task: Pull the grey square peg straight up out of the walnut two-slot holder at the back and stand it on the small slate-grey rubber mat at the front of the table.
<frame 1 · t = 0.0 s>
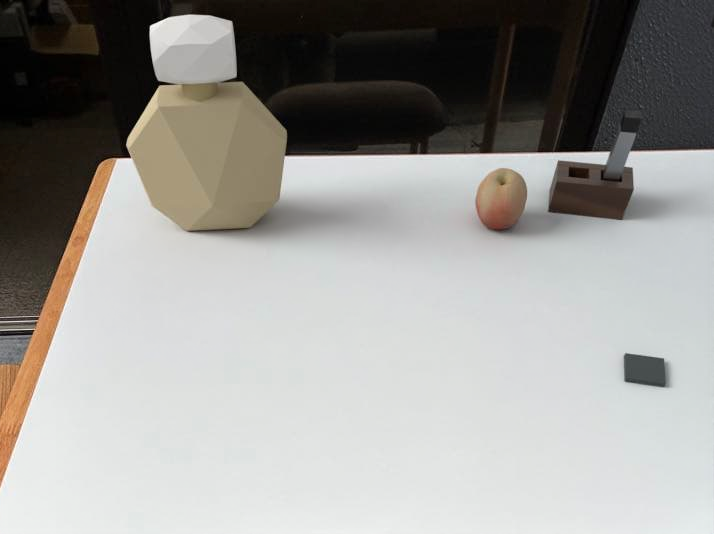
holder: (584, 204, 109), on the table
perfume bottle: (218, 220, 109), on the table
mat: (643, 371, 86), on the table
fruit: (495, 224, 106), on the table
grey square peg: (600, 206, 108), resting in holder
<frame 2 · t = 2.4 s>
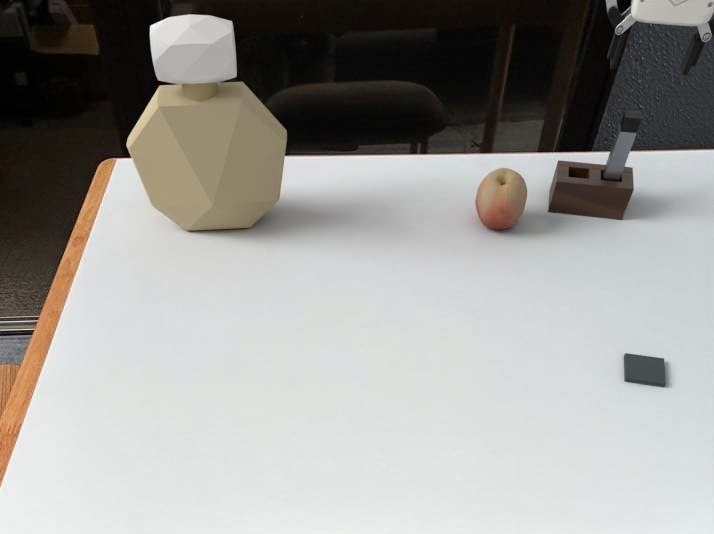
hand: (647, 68, 92), 20 cm above the table, tool pointing down, fingers open, 9 cm apart
nothing on the table moved.
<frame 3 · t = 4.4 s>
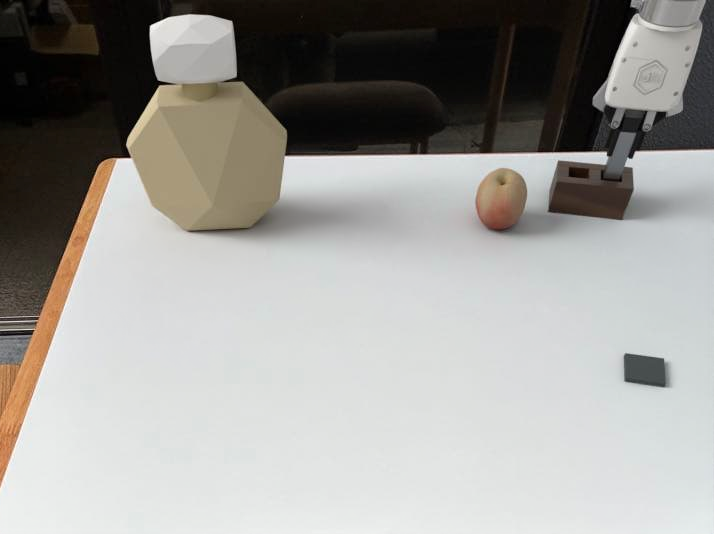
hand: (619, 152, 101), 9 cm above the table, tool pointing down, fingers closed on grey square peg, 2 cm apart
grey square peg: (600, 206, 108), resting in holder, touching gripper
everything else where it was.
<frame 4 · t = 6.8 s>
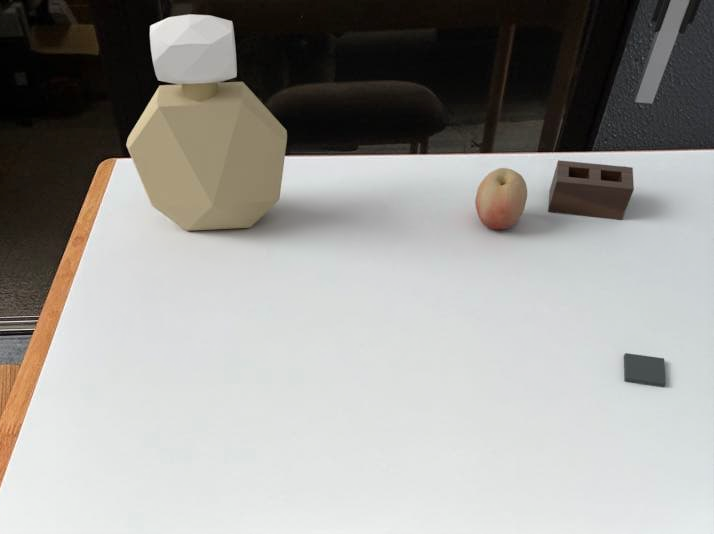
hand: (668, 27, 87), 25 cm above the table, tool pointing down, fingers closed on grey square peg, 2 cm apart
grey square peg: (643, 99, 94), point 16 cm above the table, touching gripper
everything else where it was.
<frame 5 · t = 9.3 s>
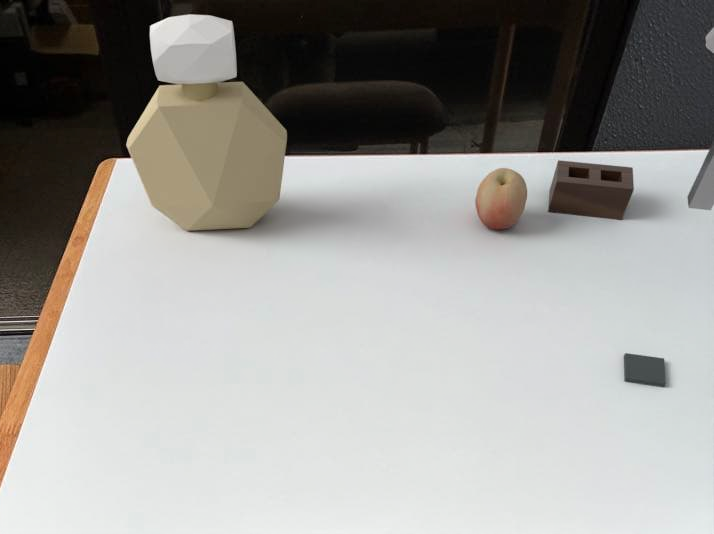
grey square peg: (698, 203, 75), point 19 cm above the table, touching gripper
everything else where it was.
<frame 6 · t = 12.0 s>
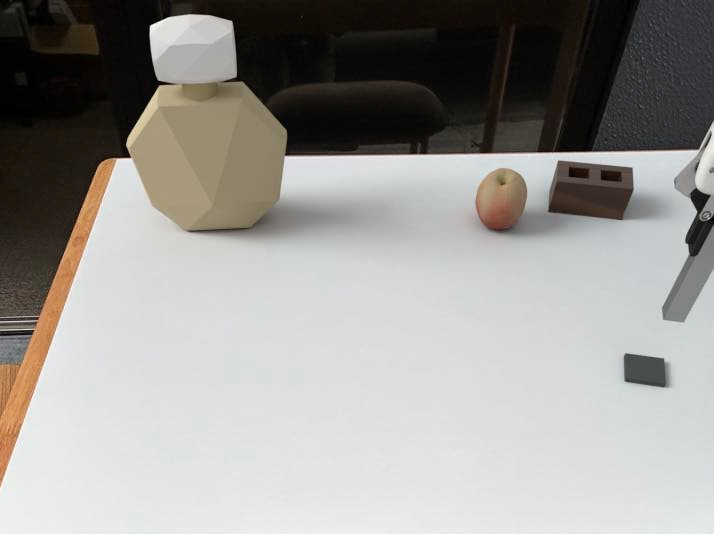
hand: (707, 250, 72), 18 cm above the table, tool pointing down, fingers closed on grey square peg, 2 cm apart
grey square peg: (672, 315, 79), point 9 cm above the table, touching gripper
everything else where it was.
when the fingers open (9 cm above the table, at t = 14.0 s): grey square peg stays where it is, resting on mat.
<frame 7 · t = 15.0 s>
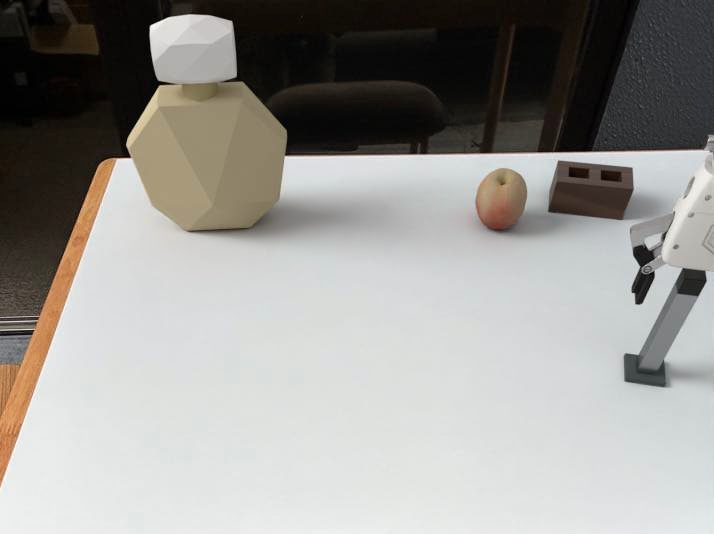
hand: (680, 303, 78), 11 cm above the table, tool pointing down, fingers open, 9 cm apart
grey square peg: (645, 368, 86), point 1 cm above the table, touching mat
everything else where it was.
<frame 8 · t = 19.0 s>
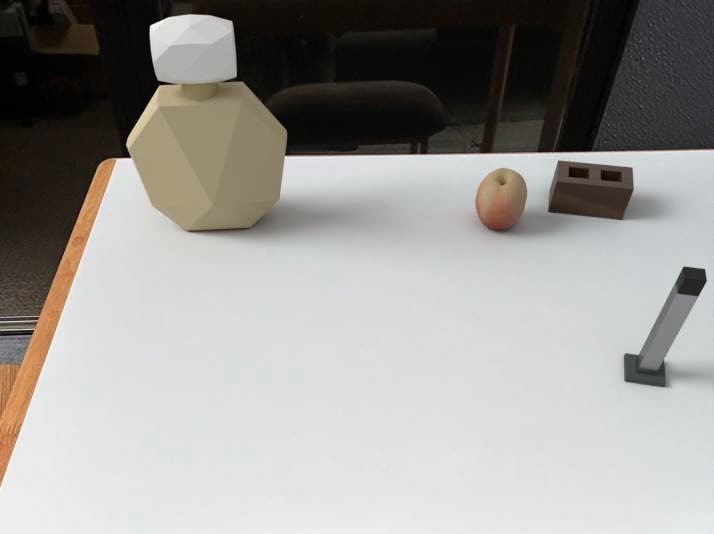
nothing on the table moved.
at the end: grey square peg 0.0 cm off-centre on the mat, point 0.6 cm above the mat's base; grey square peg touching mat; the gripper is holding nothing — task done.
